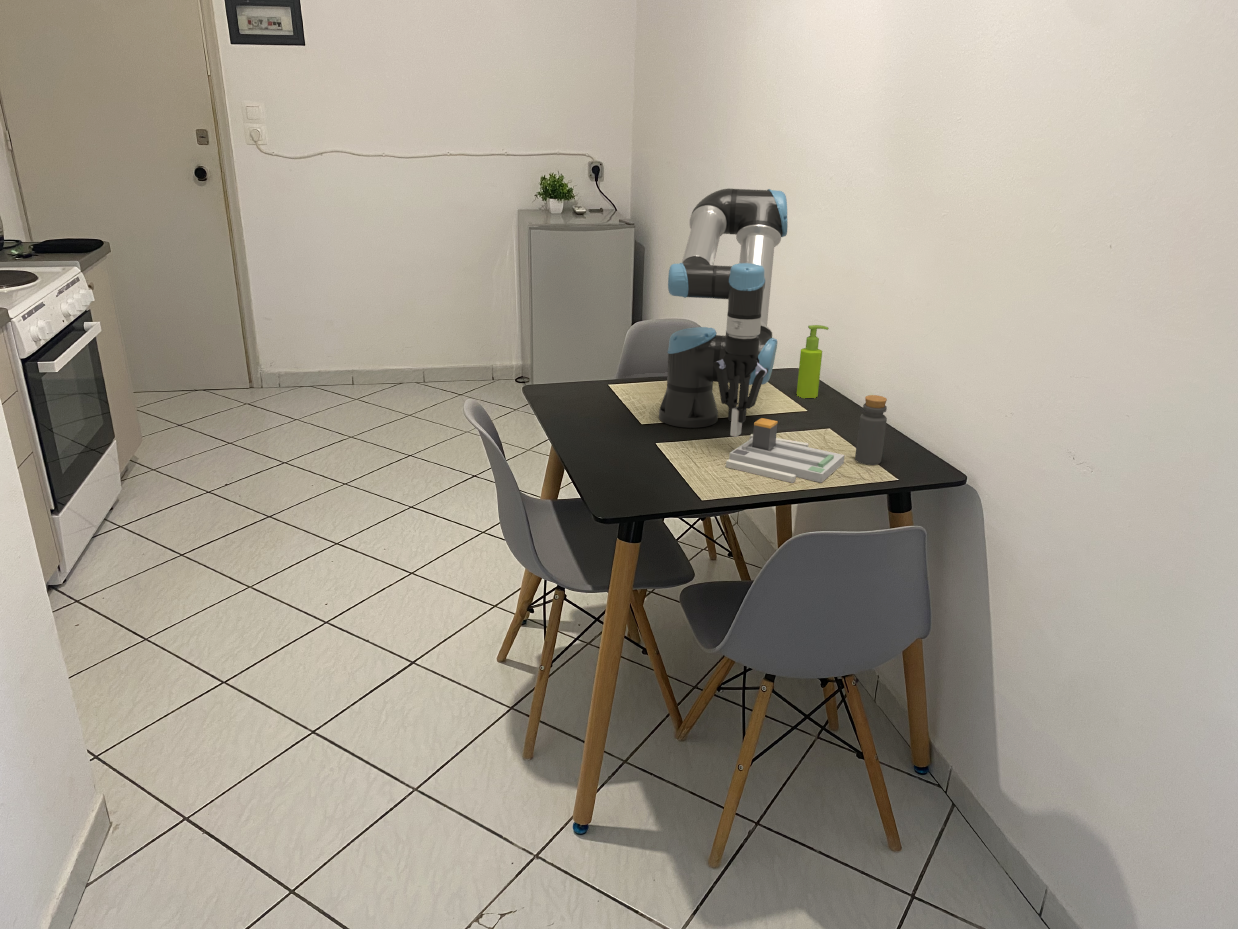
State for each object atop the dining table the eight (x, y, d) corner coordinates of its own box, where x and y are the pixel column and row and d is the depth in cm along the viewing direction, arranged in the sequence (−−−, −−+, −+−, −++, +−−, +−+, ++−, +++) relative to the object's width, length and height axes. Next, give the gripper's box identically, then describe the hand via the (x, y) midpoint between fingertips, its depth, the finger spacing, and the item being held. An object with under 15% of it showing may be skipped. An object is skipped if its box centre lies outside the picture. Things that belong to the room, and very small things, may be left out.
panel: (729, 461, 201) (729, 449, 200) (754, 443, 212) (755, 432, 211) (821, 482, 190) (822, 470, 189) (843, 463, 201) (844, 451, 200)
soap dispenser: (823, 399, 246) (830, 328, 239) (798, 398, 246) (805, 327, 239) (819, 392, 252) (826, 323, 244) (794, 392, 252) (801, 323, 245)
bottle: (876, 467, 199) (885, 403, 194) (851, 461, 202) (859, 398, 196) (884, 459, 204) (892, 397, 198) (859, 454, 207) (867, 392, 201)
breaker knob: (752, 447, 202) (754, 422, 200) (759, 442, 205) (761, 417, 203) (768, 450, 200) (770, 425, 198) (775, 445, 203) (777, 421, 201)
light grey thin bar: (749, 441, 213) (749, 435, 213) (751, 439, 215) (751, 433, 214) (806, 450, 208) (807, 445, 208) (808, 448, 209) (808, 443, 209)
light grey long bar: (725, 466, 197) (726, 461, 197) (728, 465, 199) (728, 459, 198) (792, 483, 189) (793, 476, 189) (795, 480, 191) (796, 474, 190)
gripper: (709, 333, 197) (703, 433, 206) (762, 342, 191) (754, 444, 200) (724, 328, 203) (717, 425, 212) (776, 336, 197) (768, 435, 206)
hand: (735, 434), depth 206 cm, fingers closed
